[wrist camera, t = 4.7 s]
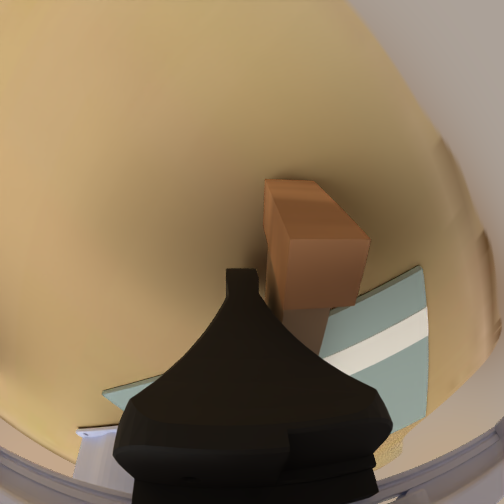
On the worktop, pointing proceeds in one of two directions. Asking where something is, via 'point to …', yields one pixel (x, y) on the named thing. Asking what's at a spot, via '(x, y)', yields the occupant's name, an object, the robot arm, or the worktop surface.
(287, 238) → the hinged fence panel
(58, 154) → the worktop surface
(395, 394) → the card
